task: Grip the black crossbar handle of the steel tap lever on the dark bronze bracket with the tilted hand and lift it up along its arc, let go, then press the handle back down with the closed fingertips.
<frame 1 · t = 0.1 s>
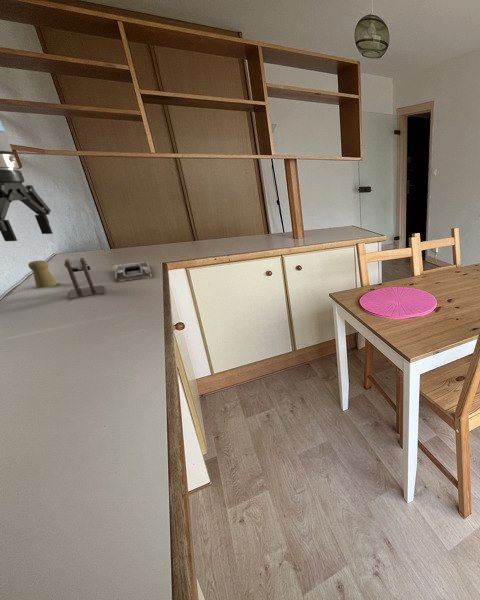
hand: (30, 237, 105), 23 cm above the counter, tool pointing down, fingers open, 13 cm apart
cork: (47, 287, 128), on the counter
tap lever: (78, 266, 121), point 10 cm above the counter, hinge at -22.0°
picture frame: (133, 275, 145), on the counter
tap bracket: (87, 294, 121), on the counter
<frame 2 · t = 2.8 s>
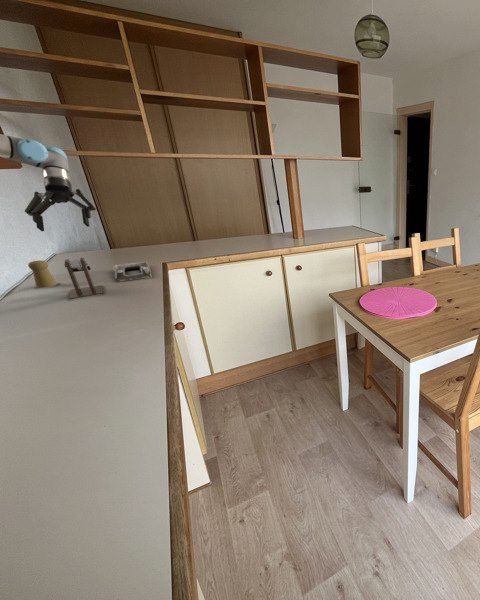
hand: (64, 227, 123), 24 cm above the counter, tool tilted 40°, fingers open, 13 cm apart
nothing on the counter moved.
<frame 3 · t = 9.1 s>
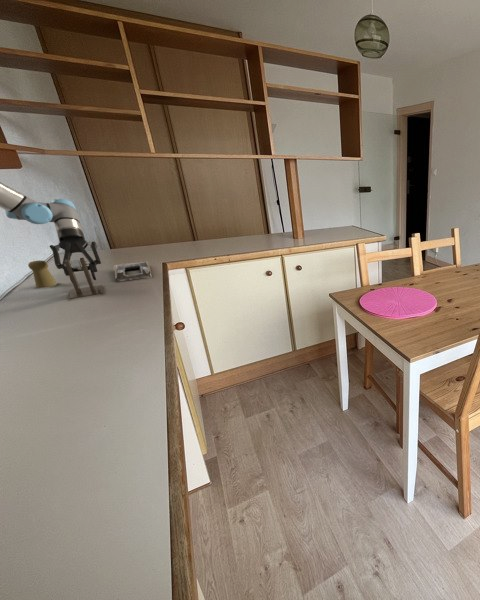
hand: (83, 279, 124), 4 cm above the counter, tool tilted 45°, fingers closed on tap lever, 5 cm apart
tap lever: (78, 266, 121), point 10 cm above the counter, hinge at -22.0°, touching gripper
everything else where it was.
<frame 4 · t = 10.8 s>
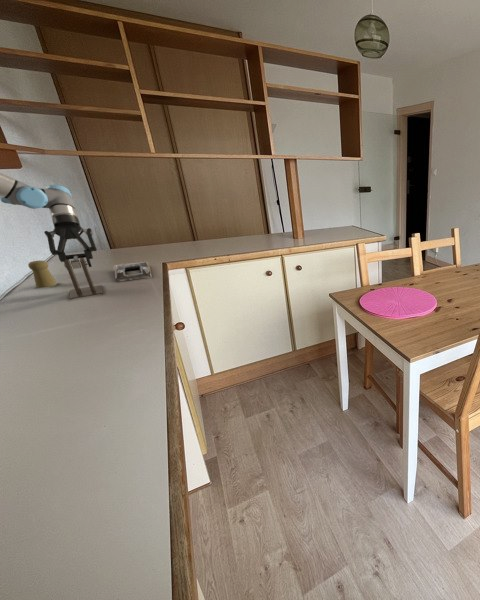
hand: (78, 266, 123), 10 cm above the counter, tool tilted 45°, fingers closed on tap lever, 5 cm apart
tap lever: (76, 260, 120), point 12 cm above the counter, hinge at 5.0°, touching gripper
everything else where it was.
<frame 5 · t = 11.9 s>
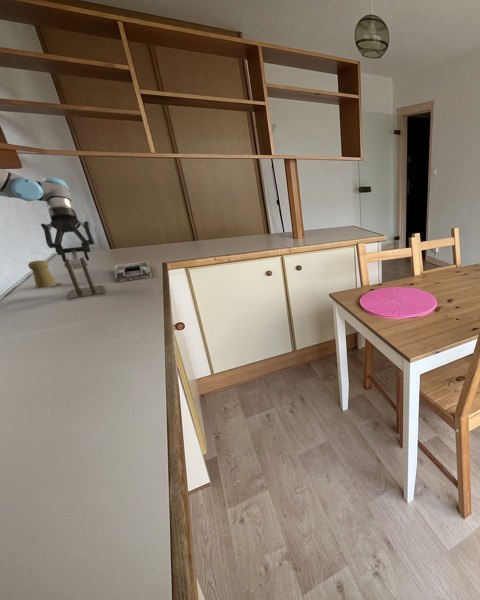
hand: (76, 259, 121), 13 cm above the counter, tool tilted 45°, fingers closed on tap lever, 5 cm apart
tap lever: (74, 257, 120), point 14 cm above the counter, hinge at 19.4°, touching gripper
everything else where it was.
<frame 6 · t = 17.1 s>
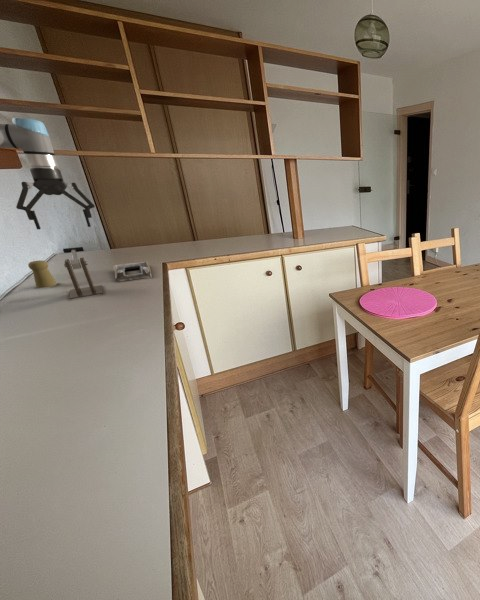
hand: (65, 227, 120), 24 cm above the counter, tool pointing down, fingers open, 13 cm apart
tap lever: (74, 257, 120), point 14 cm above the counter, hinge at 19.2°
everything else where it was.
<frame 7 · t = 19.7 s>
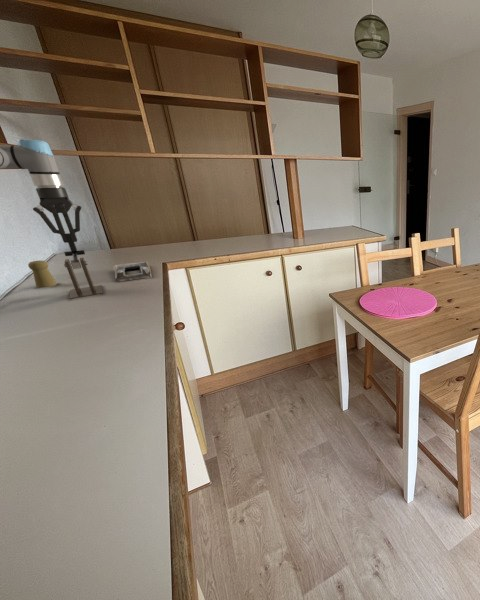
hand: (74, 250, 123), 15 cm above the counter, tool pointing down, fingers closed
tap lever: (75, 258, 120), point 13 cm above the counter, hinge at 11.9°, touching gripper
everything else where it was.
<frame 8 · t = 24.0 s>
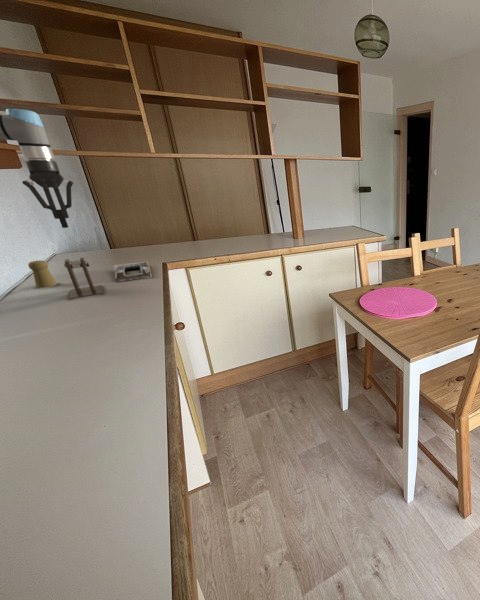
hand: (65, 227, 119), 24 cm above the counter, tool pointing down, fingers closed
tap lever: (77, 264, 121), point 11 cm above the counter, hinge at -14.4°
everything else where it was.
at the end: tap lever reached +20° during the clip, -14° at the end; tap lever at -14° (first picture: -22°) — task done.
